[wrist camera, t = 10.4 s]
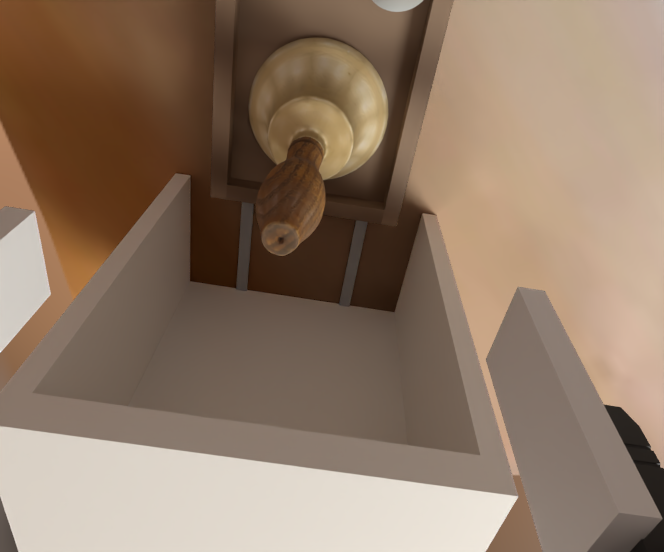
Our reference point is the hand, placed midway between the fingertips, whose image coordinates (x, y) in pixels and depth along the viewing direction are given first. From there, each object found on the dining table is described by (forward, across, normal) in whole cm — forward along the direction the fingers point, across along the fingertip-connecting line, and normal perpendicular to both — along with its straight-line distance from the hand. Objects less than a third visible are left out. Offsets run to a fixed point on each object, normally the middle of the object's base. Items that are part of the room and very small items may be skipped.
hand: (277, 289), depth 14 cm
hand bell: (+19, 0, -1) cm, 19 cm away
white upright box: (+21, 0, -1) cm, 21 cm away
